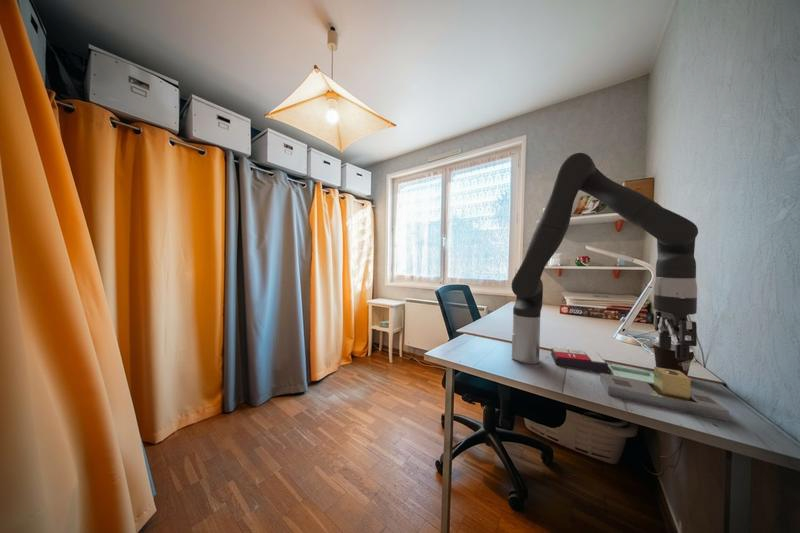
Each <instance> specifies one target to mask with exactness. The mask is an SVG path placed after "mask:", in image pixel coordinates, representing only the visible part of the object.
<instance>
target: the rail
mask: <svg viewBox="0 0 800 533" xmlns="http://www.w3.org/2000/svg"><path fill="white" fill-rule="evenodd" d="M599 382H600V384H601V385H602V387H603V388H604V390H605V392H606V393H607V395H608V396H612V397H617V398H622V399H627V400H630V401H635V402H639V403H644V404H648V405H652V406H658V407H662V408H667V409H671V410H674V411H675V410H676V411H681V412H684V413H689V414H692V415H693V414H694V415H699V416H702V417H708V418H712V419H717V420H720V421H721V420H722V421H725V422H729V416H730V414H729V413H730V411H729V410H728V409H727V408H725V407H724V406H723V405H721V404H720V403H719V402H718V401H716V400H714V399H713V398H712V397H711V396H710V395H708V394H707V393H705V392H704V391H699V390H698V391H697V390H693V389H690V401H686V400H681V399H676V398H671V397H666V396H661V395H658V394H657V393H656V392H655V391H654V390H653V387H654V383H651V382H646V381H641V380H635V379H630V378H625V377H619V376H614V375H611V374H610V373H608V374H606V373H600V372H599Z"/></svg>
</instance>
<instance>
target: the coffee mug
mask: <svg viewBox="0 0 800 533" xmlns="http://www.w3.org/2000/svg"><path fill="white" fill-rule="evenodd" d="M675 344H676V343H675ZM675 344H673V343H671V349H669V350H668V349H662V348H660V347H659V341H657V342H656V341H655V342H652V345H653V353H654V360H655V367H658V368H664V369H670V370H677V371H680V372H682V373H683V374H684V375H686V376H687V377H688V376H689V372H690V366H691V363H692V361H693V359H694V358H695V353H694V350H693V349H691V348H690V352H689V360H688V361H684V360H678V359H677V358H675Z"/></svg>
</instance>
